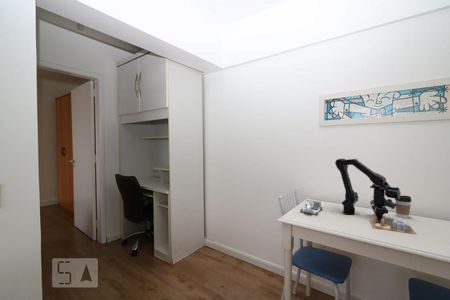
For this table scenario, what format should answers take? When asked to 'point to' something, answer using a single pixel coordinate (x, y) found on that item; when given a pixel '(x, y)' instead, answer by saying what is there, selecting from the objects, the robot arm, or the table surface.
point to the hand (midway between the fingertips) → (378, 219)
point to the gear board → (390, 227)
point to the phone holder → (312, 207)
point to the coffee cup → (403, 206)
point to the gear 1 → (376, 217)
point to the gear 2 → (400, 225)
